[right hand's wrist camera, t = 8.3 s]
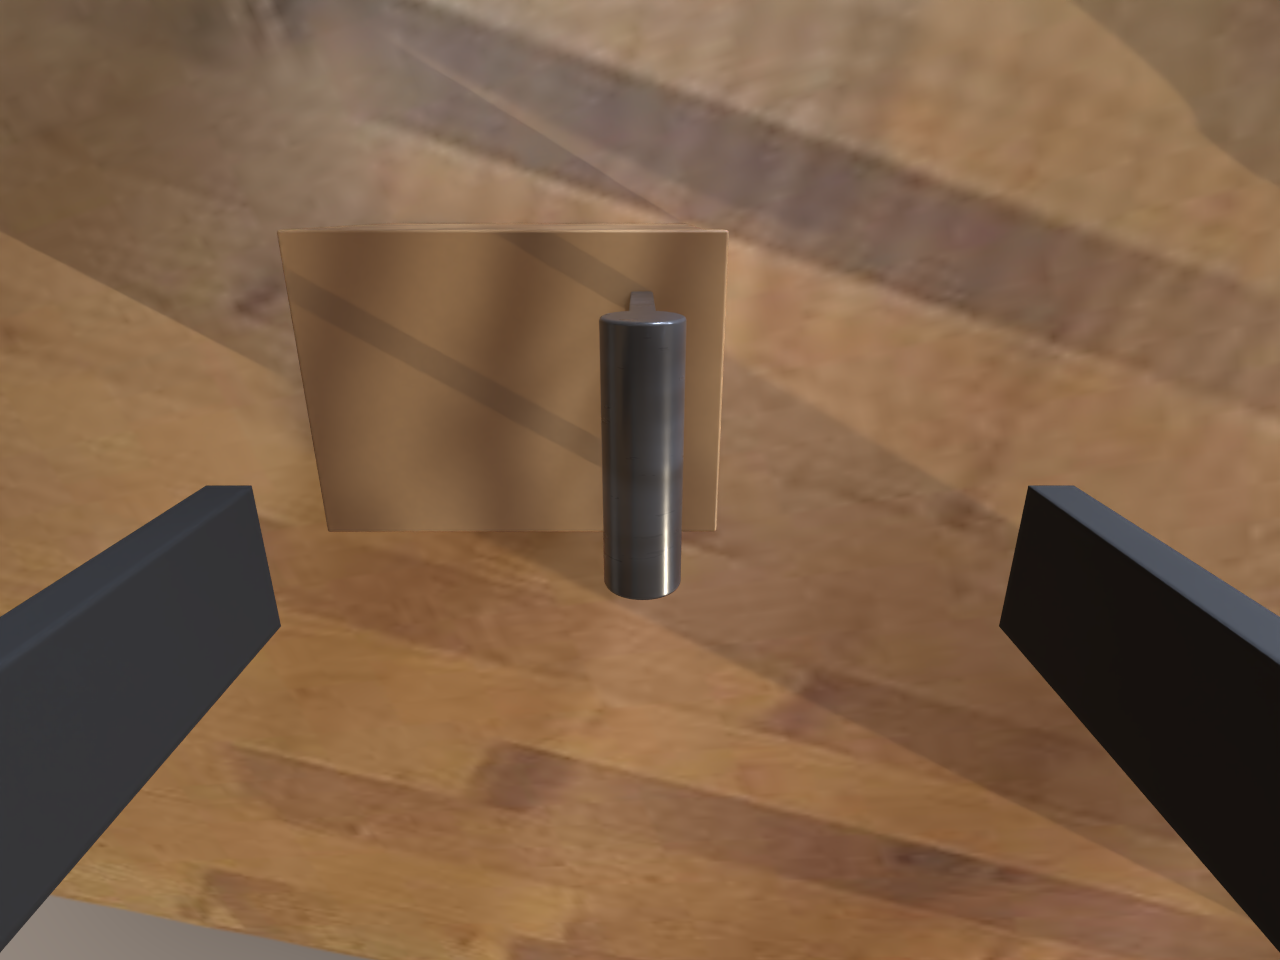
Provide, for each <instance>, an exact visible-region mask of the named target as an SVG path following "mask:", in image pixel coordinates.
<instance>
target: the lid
mask: <svg viewBox="0 0 1280 960" xmlns="http://www.w3.org/2000/svg"><path fill="white" fill-rule="evenodd" d="M277 235H278V241H279V247H280V253H281V259H282V265H283V270H284V276H285V282H286V288H287V294H288V299H289V305H290V311H291V317H292V323H293V329H294V334H295V340H296V346H297V352H298V358H299V364H300V369H301V375H302V381H303V387H304V393H305V398H306V404H307V410H308V416H309V422H310V428H311V433H312V439H313V445H314V451H315V457H316V462H317V468H318V474H319V480H320V486H321V492H322V497H323V503H324V509H325V515H326V521H327V527H328V531H330V532H568V531H603V540H604V582H605V584H606V586H607V588H608V589H609V590H610V591H611V592H613V593H614V594H616V595H618V596H621V597H624V598H628V599H635V600H650V599H657V598H661V597H664V596H667V595H669V594H671V593H672V592H674V591H675V590H676V589H677V588H678V586H679V584H680V581H681V538H682V531H716V527H717V503H718V479H719V455H720V432H721V408H722V384H723V360H724V336H725V312H726V289H727V265H728V241H729V232H728V231H727V230H724V229H287V230H279V231H277Z"/></svg>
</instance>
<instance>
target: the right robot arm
mask: <svg viewBox="0 0 1280 960" xmlns="http://www.w3.org/2000/svg"><path fill="white" fill-rule="evenodd" d="M280 627H281V624H280V620H279V615H278V610H277V605H276V600H275V596H274V591H273V586H272V581H271V577H270V572H269V567H268V562H267V557H266V553H265V548H264V543H263V538H262V533H261V529H260V524H259V519H258V514H257V509H256V505H255V500H254V495H253V490H252V486H205V487H203V488H202V489H200V490H199V491H197V492H195V493H194V494H192V495H191V496H189V497H188V498H186V499H184V500H183V501H181V502H180V503H178V504H177V505H175V506H174V507H172V508H170V509H169V510H167V511H166V512H164V513H163V514H161V515H159V516H158V517H156V518H155V519H153V520H152V521H150V522H148V523H147V524H145V525H144V526H142V527H141V528H139V529H137V530H136V531H134V532H133V533H131V534H130V535H128V536H127V537H125V538H123V539H122V540H120V541H119V542H117V543H116V544H114V545H112V546H111V547H109V548H108V549H106V550H105V551H103V552H101V553H100V554H98V555H97V556H95V557H94V558H92V559H90V560H89V561H87V562H86V563H84V564H83V565H81V566H80V567H78V568H76V569H75V570H73V571H72V572H70V573H69V574H67V575H65V576H64V577H62V578H61V579H59V580H58V581H56V582H54V583H53V584H51V585H50V586H48V587H47V588H45V589H43V590H42V591H40V592H39V593H37V594H36V595H34V596H33V597H31V598H29V599H28V600H26V601H25V602H23V603H22V604H20V605H18V606H17V607H15V608H14V609H12V610H11V611H9V612H7V613H6V614H4V615H3V616H1V617H0V952H1V951H2V950H3V949H4V947H5V946H6V945H7V944H8V943H9V942H10V940H11V939H12V938H13V937H14V936H15V935H16V933H17V932H18V931H19V930H20V929H21V928H22V927H23V925H24V924H25V923H26V922H27V921H28V920H29V918H30V917H31V916H32V915H33V914H34V913H35V911H36V910H37V909H38V908H39V907H40V906H41V904H42V903H43V902H44V901H45V900H46V899H47V897H48V896H49V895H50V894H51V893H52V892H53V890H54V889H55V888H56V887H57V886H58V885H59V884H60V882H61V881H62V880H63V879H64V878H65V877H66V875H67V874H68V873H69V872H70V871H71V870H72V868H73V867H74V866H75V865H76V864H77V863H78V861H79V860H80V859H81V858H82V857H83V856H84V854H85V853H86V852H87V851H88V850H89V849H90V847H91V846H92V845H93V844H94V843H95V842H96V840H97V839H98V838H99V837H100V836H101V835H102V834H103V832H104V831H105V830H106V829H107V828H108V827H109V825H110V824H111V823H112V822H113V821H114V820H115V818H116V817H117V816H118V815H119V814H120V813H121V811H122V810H123V809H124V808H125V807H126V806H127V804H128V803H129V802H130V801H131V800H132V799H133V797H134V796H135V795H136V794H137V793H138V792H139V791H140V789H141V788H142V787H143V786H144V785H145V784H146V782H147V781H148V780H149V779H150V778H151V777H152V775H153V774H154V773H155V772H156V771H157V770H158V768H159V767H160V766H161V765H162V764H163V763H164V761H165V760H166V759H167V758H168V757H169V756H170V754H171V753H172V752H173V751H174V750H175V749H176V748H177V746H178V745H179V744H180V743H181V742H182V741H183V739H184V738H185V737H186V736H187V735H188V734H189V732H190V731H191V730H192V729H193V728H194V727H195V725H196V724H197V723H198V722H199V721H200V720H201V718H202V717H203V716H204V715H205V714H206V713H207V711H208V710H209V709H210V708H211V707H212V706H213V705H214V703H215V702H216V701H217V700H218V699H219V698H220V696H221V695H222V694H223V693H224V692H225V691H226V689H227V688H228V687H229V686H230V685H231V684H232V682H233V681H234V680H235V679H236V678H237V677H238V675H239V674H240V673H241V672H242V671H243V670H244V668H245V667H246V666H247V665H248V664H249V663H250V661H251V660H252V659H253V658H254V657H255V656H256V655H257V653H258V652H259V651H260V650H261V649H262V648H263V646H264V645H265V644H266V643H267V642H268V641H269V639H270V638H271V637H272V636H273V635H274V634H275V632H276V631H277V630H278V629H279V628H280ZM999 627H1000V628H1001V629H1002V630H1003V631H1004V632H1005V634H1006V635H1007V636H1008V637H1009V638H1010V639H1011V641H1012V642H1013V643H1014V644H1015V645H1016V646H1017V648H1018V649H1019V650H1020V651H1021V652H1022V653H1023V655H1024V656H1025V657H1026V658H1027V659H1028V660H1029V661H1030V663H1031V664H1032V665H1033V666H1034V667H1035V668H1036V670H1037V671H1038V672H1039V673H1040V674H1041V675H1042V677H1043V678H1044V679H1045V680H1046V681H1047V682H1048V684H1049V685H1050V686H1051V687H1052V688H1053V689H1054V691H1055V692H1056V693H1057V694H1058V695H1059V696H1060V698H1061V699H1062V700H1063V701H1064V702H1065V703H1066V705H1067V706H1068V707H1069V708H1070V709H1071V710H1072V711H1073V713H1074V714H1075V715H1076V716H1077V717H1078V718H1079V720H1080V721H1081V722H1082V723H1083V724H1084V725H1085V727H1086V728H1087V729H1088V730H1089V731H1090V732H1091V734H1092V735H1093V736H1094V737H1095V738H1096V739H1097V741H1098V742H1099V743H1100V744H1101V745H1102V746H1103V748H1104V749H1105V750H1106V751H1107V752H1108V753H1109V754H1110V756H1111V757H1112V758H1113V759H1114V760H1115V761H1116V763H1117V764H1118V765H1119V766H1120V767H1121V768H1122V770H1123V771H1124V772H1125V773H1126V774H1127V775H1128V777H1129V778H1130V779H1131V780H1132V781H1133V782H1134V784H1135V785H1136V786H1137V787H1138V788H1139V789H1140V791H1141V792H1142V793H1143V794H1144V795H1145V796H1146V797H1147V799H1148V800H1149V801H1150V802H1151V803H1152V804H1153V806H1154V807H1155V808H1156V809H1157V810H1158V811H1159V813H1160V814H1161V815H1162V816H1163V817H1164V818H1165V820H1166V821H1167V822H1168V823H1169V824H1170V825H1171V827H1172V828H1173V829H1174V830H1175V831H1176V832H1177V834H1178V835H1179V836H1180V837H1181V838H1182V839H1183V840H1184V842H1185V843H1186V844H1187V845H1188V846H1189V847H1190V849H1191V850H1192V851H1193V852H1194V853H1195V854H1196V856H1197V857H1198V858H1199V859H1200V860H1201V861H1202V863H1203V864H1204V865H1205V866H1206V867H1207V868H1208V870H1209V871H1210V872H1211V873H1212V874H1213V875H1214V877H1215V878H1216V879H1217V880H1218V881H1219V882H1220V884H1221V885H1222V886H1223V887H1224V888H1225V889H1226V890H1227V892H1228V893H1229V894H1230V895H1231V896H1232V897H1233V899H1234V900H1235V901H1236V902H1237V903H1238V904H1239V906H1240V907H1241V908H1242V909H1243V910H1244V911H1245V913H1246V914H1247V915H1248V916H1249V917H1250V918H1251V920H1252V921H1253V922H1254V923H1255V924H1256V925H1257V927H1258V928H1259V929H1260V930H1261V931H1262V932H1263V933H1264V935H1265V936H1266V937H1267V938H1268V939H1269V940H1270V942H1271V943H1272V944H1273V945H1274V946H1275V947H1276V949H1277V950H1278V951H1279V952H1280V617H1279V616H1277V615H1276V614H1274V613H1273V612H1271V611H1269V610H1268V609H1266V608H1265V607H1263V606H1262V605H1260V604H1258V603H1257V602H1255V601H1254V600H1252V599H1251V598H1249V597H1247V596H1246V595H1244V594H1243V593H1241V592H1240V591H1238V590H1237V589H1235V588H1233V587H1232V586H1230V585H1229V584H1227V583H1226V582H1224V581H1222V580H1221V579H1219V578H1218V577H1216V576H1215V575H1213V574H1211V573H1210V572H1208V571H1207V570H1205V569H1204V568H1202V567H1200V566H1199V565H1197V564H1196V563H1194V562H1193V561H1191V560H1190V559H1188V558H1186V557H1185V556H1183V555H1182V554H1180V553H1179V552H1177V551H1175V550H1174V549H1172V548H1171V547H1169V546H1168V545H1166V544H1164V543H1163V542H1161V541H1160V540H1158V539H1157V538H1155V537H1153V536H1152V535H1150V534H1149V533H1147V532H1146V531H1144V530H1143V529H1141V528H1139V527H1138V526H1136V525H1135V524H1133V523H1132V522H1130V521H1128V520H1127V519H1125V518H1124V517H1122V516H1121V515H1119V514H1117V513H1116V512H1114V511H1113V510H1111V509H1110V508H1108V507H1106V506H1105V505H1103V504H1102V503H1100V502H1099V501H1097V500H1096V499H1094V498H1092V497H1091V496H1089V495H1088V494H1086V493H1085V492H1083V491H1081V490H1080V489H1078V488H1077V487H1075V486H1028V490H1027V495H1026V500H1025V505H1024V509H1023V514H1022V519H1021V524H1020V529H1019V533H1018V538H1017V543H1016V548H1015V553H1014V557H1013V562H1012V567H1011V572H1010V577H1009V581H1008V586H1007V591H1006V596H1005V600H1004V605H1003V610H1002V615H1001V620H1000V624H999Z"/></svg>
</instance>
